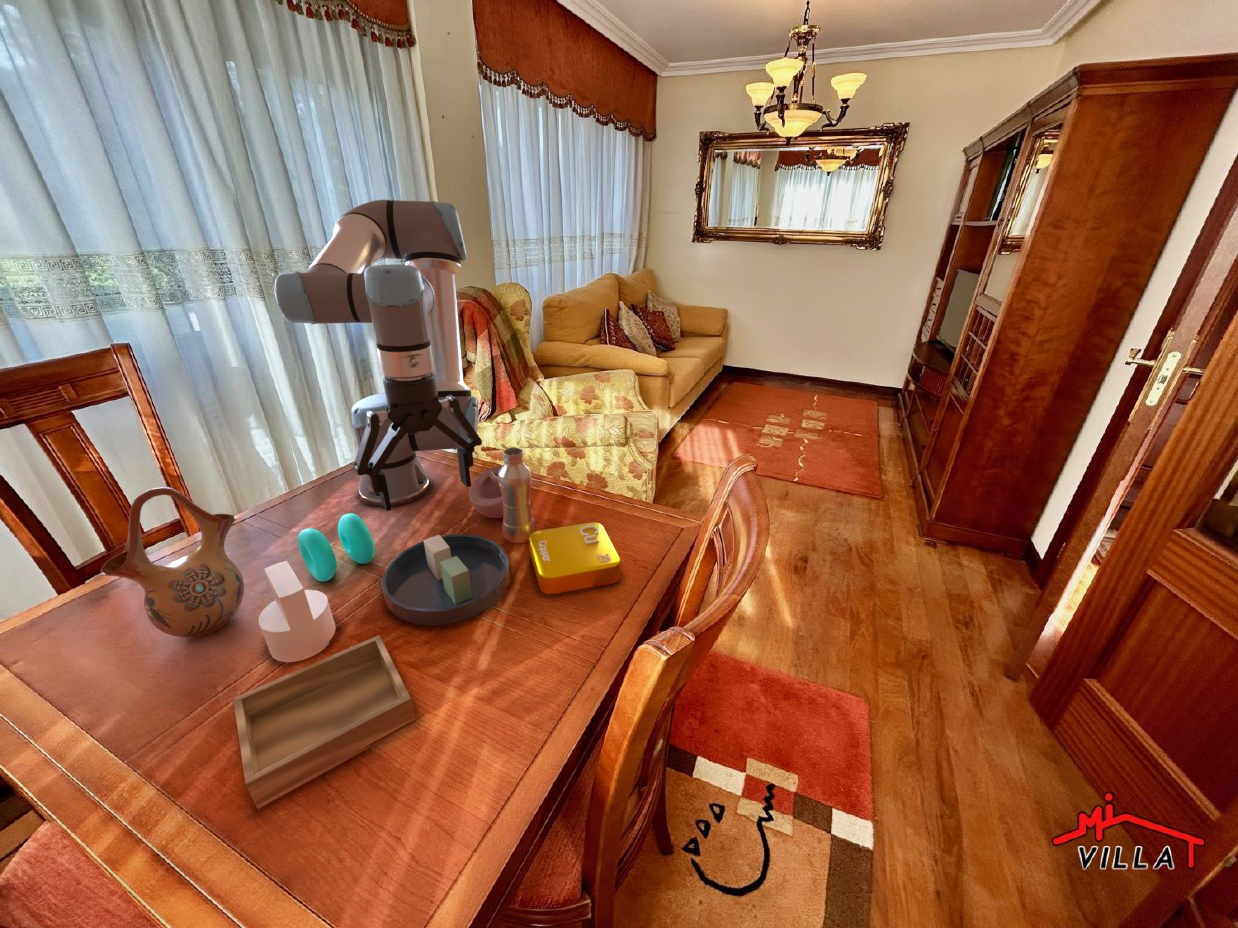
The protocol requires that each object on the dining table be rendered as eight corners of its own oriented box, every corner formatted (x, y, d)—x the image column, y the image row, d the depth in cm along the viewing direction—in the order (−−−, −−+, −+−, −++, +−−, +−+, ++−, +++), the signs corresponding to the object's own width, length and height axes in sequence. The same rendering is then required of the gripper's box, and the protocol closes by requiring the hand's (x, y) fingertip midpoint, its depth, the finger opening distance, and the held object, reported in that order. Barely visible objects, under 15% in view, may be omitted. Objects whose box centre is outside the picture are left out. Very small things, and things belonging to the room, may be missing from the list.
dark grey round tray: (369, 576, 92) (365, 561, 90) (479, 536, 104) (477, 522, 102) (408, 648, 77) (405, 631, 75) (531, 591, 89) (530, 576, 88)
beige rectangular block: (427, 566, 94) (423, 539, 91) (443, 560, 96) (439, 534, 93) (437, 580, 90) (433, 553, 88) (453, 573, 92) (449, 547, 89)
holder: (244, 721, 65) (233, 697, 63) (384, 657, 75) (379, 634, 73) (257, 809, 56) (245, 784, 54) (416, 721, 66) (411, 698, 64)
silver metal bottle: (529, 550, 100) (523, 460, 91) (497, 545, 101) (489, 456, 92) (540, 532, 106) (536, 446, 97) (510, 527, 107) (503, 442, 98)
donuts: (381, 568, 94) (371, 523, 89) (325, 594, 87) (311, 547, 83) (358, 545, 100) (348, 503, 95) (303, 568, 93) (289, 523, 89)
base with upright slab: (344, 640, 78) (327, 579, 73) (278, 672, 72) (254, 609, 67) (325, 610, 84) (308, 551, 78) (263, 637, 78) (239, 576, 73)
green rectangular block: (444, 589, 88) (439, 561, 86) (460, 582, 90) (456, 555, 87) (455, 604, 85) (451, 577, 82) (472, 597, 87) (468, 570, 84)
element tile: (528, 549, 100) (527, 529, 98) (600, 537, 105) (600, 518, 103) (541, 598, 88) (540, 576, 86) (622, 582, 92) (623, 562, 90)
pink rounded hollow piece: (460, 514, 111) (454, 468, 106) (504, 495, 119) (500, 451, 114) (493, 535, 104) (489, 488, 99) (537, 513, 112) (535, 468, 107)
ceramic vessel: (248, 586, 88) (199, 459, 77) (279, 603, 85) (233, 473, 74) (133, 649, 75) (55, 507, 64) (165, 673, 72) (87, 527, 60)
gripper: (323, 395, 66) (355, 528, 76) (495, 367, 81) (504, 482, 90) (311, 381, 72) (343, 507, 81) (475, 357, 86) (486, 467, 95)
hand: (428, 495), depth 86 cm, fingers open, 13 cm apart
